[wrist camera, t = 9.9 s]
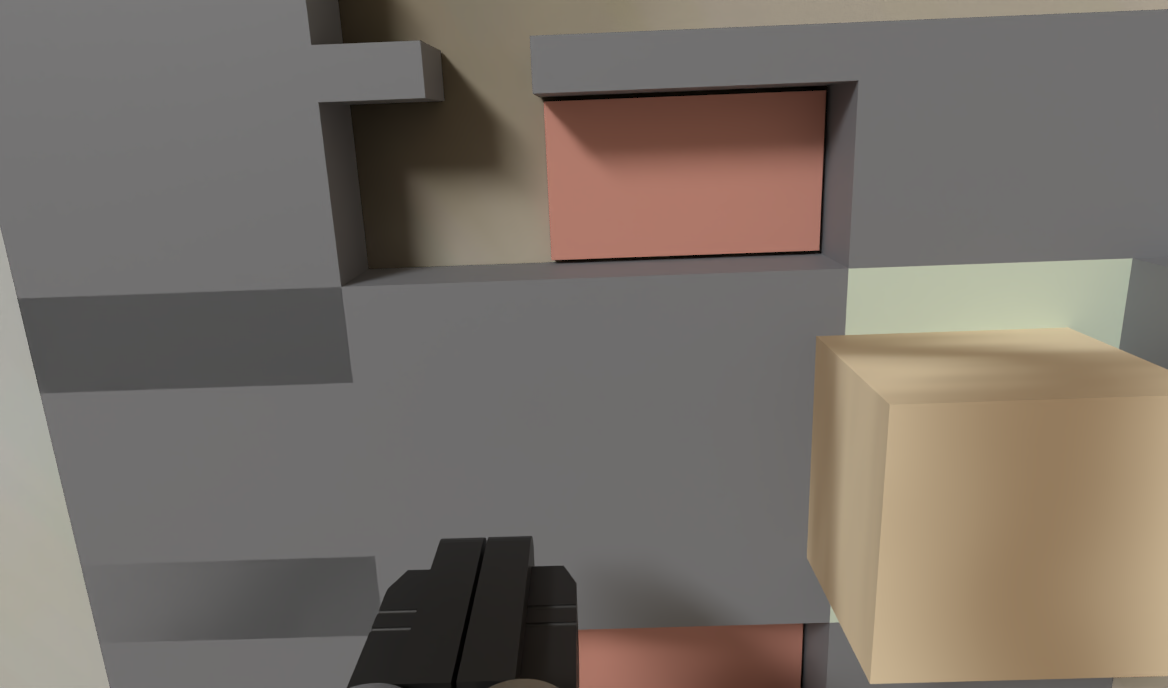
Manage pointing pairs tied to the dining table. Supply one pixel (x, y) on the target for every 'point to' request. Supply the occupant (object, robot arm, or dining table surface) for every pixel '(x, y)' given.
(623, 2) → the dining table surface
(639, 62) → the track
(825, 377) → the block
